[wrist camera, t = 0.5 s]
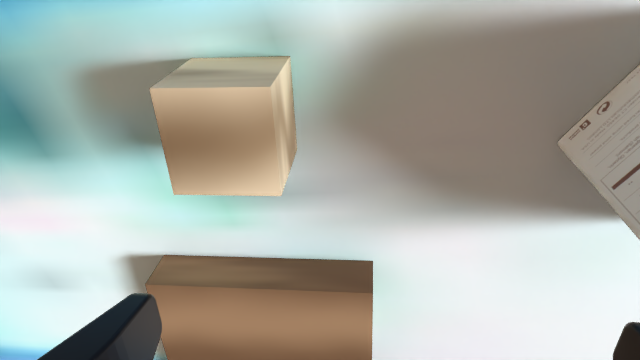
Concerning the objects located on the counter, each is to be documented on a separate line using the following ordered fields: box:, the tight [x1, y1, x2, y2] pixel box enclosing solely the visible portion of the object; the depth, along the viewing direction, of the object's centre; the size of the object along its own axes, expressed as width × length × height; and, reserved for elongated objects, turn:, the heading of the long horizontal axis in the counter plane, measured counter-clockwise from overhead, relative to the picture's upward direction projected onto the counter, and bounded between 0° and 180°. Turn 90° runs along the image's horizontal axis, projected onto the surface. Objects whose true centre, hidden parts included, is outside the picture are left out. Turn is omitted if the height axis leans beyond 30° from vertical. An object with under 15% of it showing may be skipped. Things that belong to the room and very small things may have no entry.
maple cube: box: [149, 56, 297, 196], centre depth 19 cm, size 4×4×4 cm
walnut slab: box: [145, 255, 373, 360], centre depth 27 cm, size 12×12×3 cm
